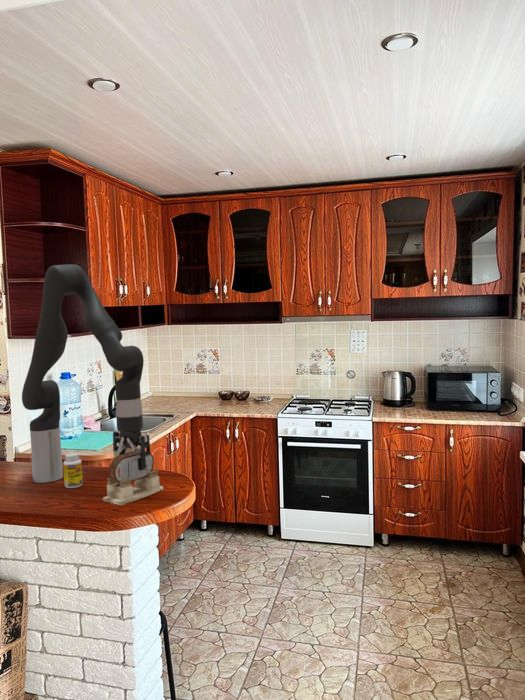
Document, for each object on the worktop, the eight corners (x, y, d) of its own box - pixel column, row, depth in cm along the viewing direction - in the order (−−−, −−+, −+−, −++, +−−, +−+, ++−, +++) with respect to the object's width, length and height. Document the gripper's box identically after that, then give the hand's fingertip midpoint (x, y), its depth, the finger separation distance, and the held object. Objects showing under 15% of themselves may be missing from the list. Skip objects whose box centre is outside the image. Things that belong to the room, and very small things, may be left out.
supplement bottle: (67, 490, 166) (64, 457, 165) (62, 485, 170) (60, 454, 170) (85, 486, 169) (83, 454, 168) (80, 482, 173) (78, 451, 173)
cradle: (103, 500, 154) (101, 479, 153) (146, 485, 166) (145, 466, 166) (120, 505, 149) (119, 483, 148) (163, 489, 161) (162, 469, 161)
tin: (150, 473, 164) (148, 446, 163) (156, 474, 162) (155, 447, 161) (108, 486, 152) (106, 457, 152) (115, 488, 150) (113, 459, 150)
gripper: (103, 414, 157) (107, 467, 158) (134, 417, 149) (138, 474, 150) (124, 410, 163) (127, 461, 164) (155, 413, 155) (158, 468, 156)
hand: (132, 467), depth 157 cm, fingers open, 8 cm apart
